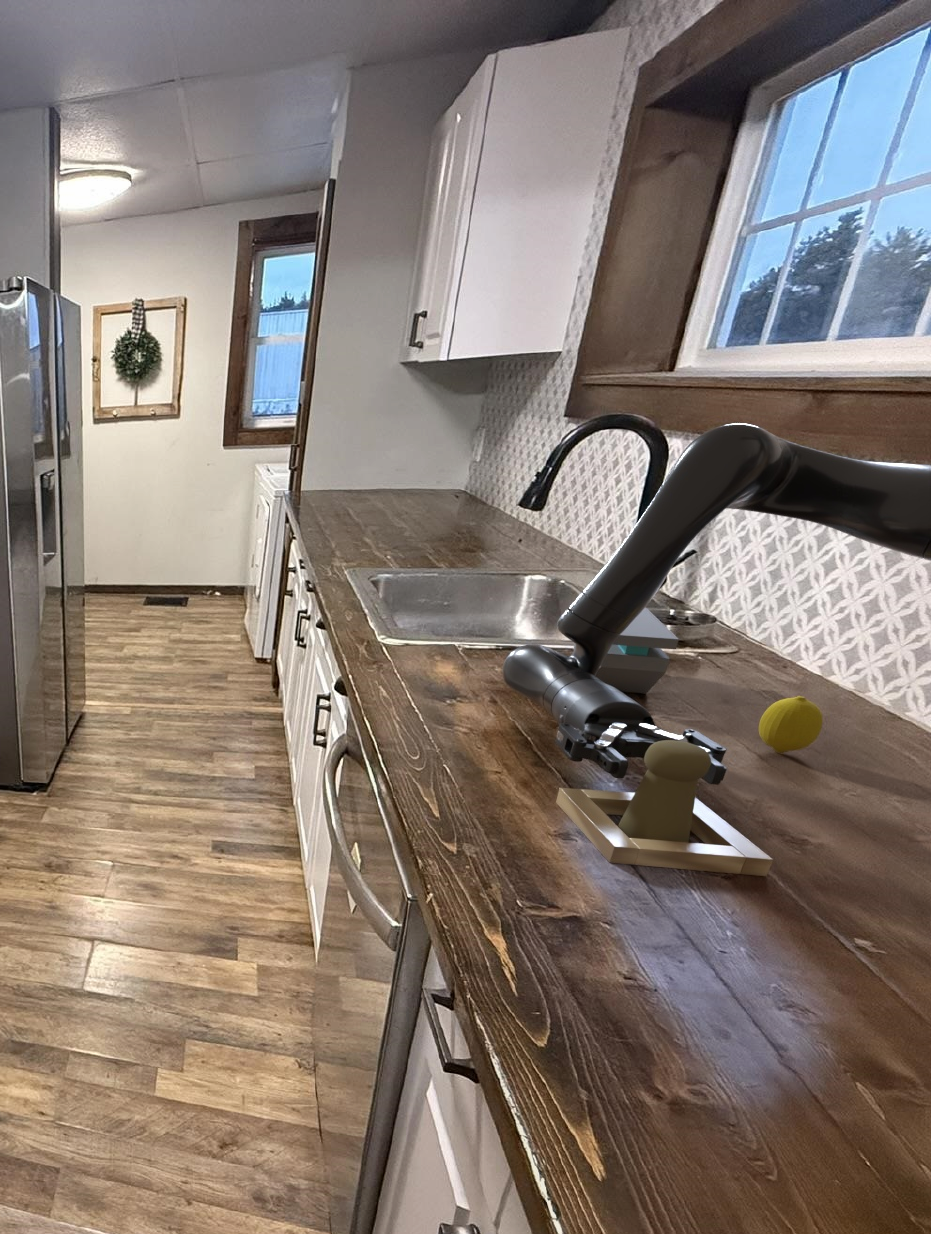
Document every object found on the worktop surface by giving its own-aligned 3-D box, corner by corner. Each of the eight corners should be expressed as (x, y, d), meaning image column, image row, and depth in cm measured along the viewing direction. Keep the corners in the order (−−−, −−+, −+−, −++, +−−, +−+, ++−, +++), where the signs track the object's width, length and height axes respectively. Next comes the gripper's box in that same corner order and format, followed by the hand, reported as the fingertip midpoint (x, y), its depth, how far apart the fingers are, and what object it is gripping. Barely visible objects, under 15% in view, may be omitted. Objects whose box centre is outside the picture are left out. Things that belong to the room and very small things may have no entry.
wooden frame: (689, 811, 89) (695, 796, 88) (766, 876, 77) (773, 859, 76) (555, 802, 92) (559, 787, 92) (609, 862, 81) (614, 846, 80)
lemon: (819, 764, 98) (843, 705, 95) (764, 759, 100) (786, 702, 97) (793, 746, 103) (815, 690, 100) (741, 742, 105) (761, 687, 102)
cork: (699, 854, 81) (733, 760, 77) (628, 846, 83) (658, 753, 79) (673, 826, 86) (704, 736, 82) (608, 819, 88) (635, 731, 84)
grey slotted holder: (657, 708, 117) (679, 639, 113) (592, 701, 120) (611, 634, 116) (620, 660, 137) (638, 600, 133) (566, 655, 140) (581, 597, 136)
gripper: (540, 686, 97) (601, 737, 83) (676, 691, 93) (764, 746, 79) (527, 740, 100) (583, 799, 86) (658, 748, 96) (739, 810, 82)
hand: (670, 773), depth 82 cm, fingers open, 8 cm apart
